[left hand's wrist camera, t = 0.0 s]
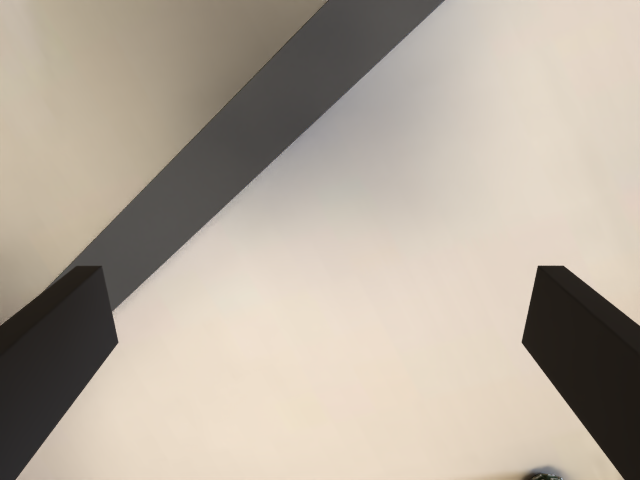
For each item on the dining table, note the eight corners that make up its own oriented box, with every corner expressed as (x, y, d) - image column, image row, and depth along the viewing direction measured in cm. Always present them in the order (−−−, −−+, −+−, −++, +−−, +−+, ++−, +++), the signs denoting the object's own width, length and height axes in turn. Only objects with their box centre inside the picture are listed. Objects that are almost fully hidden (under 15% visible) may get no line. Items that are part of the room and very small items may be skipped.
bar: (476, -135, 31) (530, -207, 23) (512, -74, 32) (576, -123, 24) (-30, 376, 49) (-100, 437, 40) (7, 402, 50) (-53, 465, 42)
